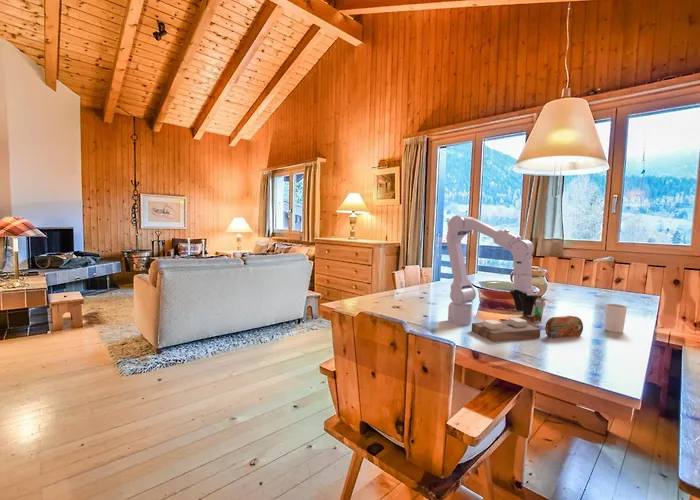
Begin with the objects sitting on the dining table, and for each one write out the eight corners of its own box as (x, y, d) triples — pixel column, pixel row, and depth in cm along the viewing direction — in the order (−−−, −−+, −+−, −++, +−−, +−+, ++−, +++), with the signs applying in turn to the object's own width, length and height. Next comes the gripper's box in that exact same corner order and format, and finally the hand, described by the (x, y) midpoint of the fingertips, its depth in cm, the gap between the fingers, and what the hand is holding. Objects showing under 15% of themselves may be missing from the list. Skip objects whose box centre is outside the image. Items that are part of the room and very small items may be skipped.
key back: (508, 326, 131) (508, 318, 130) (518, 325, 132) (518, 317, 132) (517, 329, 126) (517, 321, 126) (526, 329, 128) (527, 321, 127)
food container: (550, 326, 142) (552, 302, 141) (535, 326, 142) (536, 301, 141) (535, 317, 154) (536, 295, 153) (521, 317, 154) (522, 295, 153)
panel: (471, 333, 131) (471, 323, 130) (515, 329, 136) (515, 319, 136) (492, 344, 119) (493, 333, 119) (539, 339, 125) (540, 329, 125)
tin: (549, 342, 123) (551, 318, 122) (542, 339, 126) (544, 316, 125) (583, 338, 127) (584, 316, 126) (575, 336, 130) (577, 314, 129)
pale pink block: (483, 328, 127) (483, 320, 127) (493, 327, 129) (494, 319, 128) (491, 332, 123) (492, 323, 123) (501, 331, 125) (502, 323, 124)
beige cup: (628, 333, 134) (630, 308, 133) (608, 332, 135) (611, 307, 134) (618, 328, 140) (621, 304, 139) (600, 327, 142) (602, 302, 141)
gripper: (543, 276, 114) (544, 317, 114) (527, 271, 128) (527, 308, 129) (520, 276, 115) (521, 317, 115) (507, 272, 129) (507, 308, 130)
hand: (523, 312), depth 122 cm, fingers open, 7 cm apart
